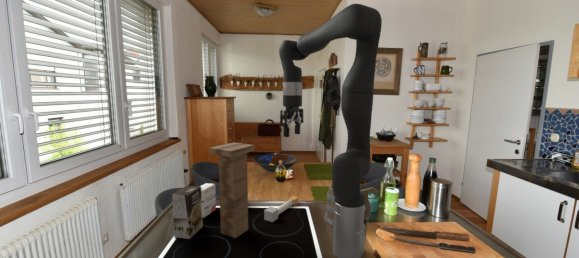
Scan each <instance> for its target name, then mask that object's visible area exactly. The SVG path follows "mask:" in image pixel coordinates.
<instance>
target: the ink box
mask: <svg viewBox="0 0 579 258" xmlns="http://www.w3.org/2000/svg"><path fill="white" fill-rule="evenodd" d="M199 187H201V196H202V219H204V218H206V217H207V216H208V215H210V214H213V212H214V211H216V210H217V203H216V202H217V200H216V197H217V196H216V184H215V183H209V182H208V183H207V182H205V183H203V184H201V185H200V186H199Z"/></svg>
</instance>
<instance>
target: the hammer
mask: <svg viewBox="0 0 579 258" xmlns="http://www.w3.org/2000/svg"><path fill="white" fill-rule="evenodd" d="M297 204H299V197H298V196H294V195H291V196H290V197H289V198H288V200H287V201H286V202H284V203H283V204H282V205H279V206H278V207H272V206H269V207H268V208H265V209H264V211H263V213H264V216H263V217H264V218H263V219H264V220H265V221H267V222H271V223H274V222H275V221H277V220H278V219H279V215H280V214H282V213H283V212H285V211H286V210H287V209H289V208H291V207H292V206H296V205H297Z"/></svg>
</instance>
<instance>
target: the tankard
mask: <svg viewBox="0 0 579 258" xmlns="http://www.w3.org/2000/svg"><path fill="white" fill-rule="evenodd" d="M360 191H361V192H363V193H364V195H365V208H364V219H368V217H369V216H370V215H371V214H372V213H371V212H372V211H371V210H372V205H371V203H370V199H369V194H372V193H373V194H374V195H377V194H378V193H379V190H378V189H376V188H375V187H373V186H370V187H368V188H363V189H360ZM326 200H328V201H327V204H326V206H325V208H326V209H325V210H326V212H325V214H324V217H323V218H324V221H325V222H326V223H328V224H329V225H330V226H331V227H334V205H335V196H334V193H333V189H332V183H330V184H329V186H328V191H327V192H326Z"/></svg>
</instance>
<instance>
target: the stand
mask: <svg viewBox="0 0 579 258" xmlns="http://www.w3.org/2000/svg"><path fill="white" fill-rule="evenodd" d="M255 149H256V148H255V144H248V143H241V142H229V143H226V144H220V145H217V146H213V147H209V154H210V155H211V154H212V155H215V156H216V155H217V156H218V177H219V178H218V179H219V181H218V183H219V211H220V212H219V213H220V215H219V216H220V219H219V220H220V234H222V235H225V236H228V237H231V238H233V239H237V238H239V237H240V236H241V235H242V234H244V233H246V232H247V231H249V201H248V200H249V195H248V194H249V193H248V192H249V191H248V189H249V187H248V186H249V185H248V153H251V152H254V151H255Z"/></svg>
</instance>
